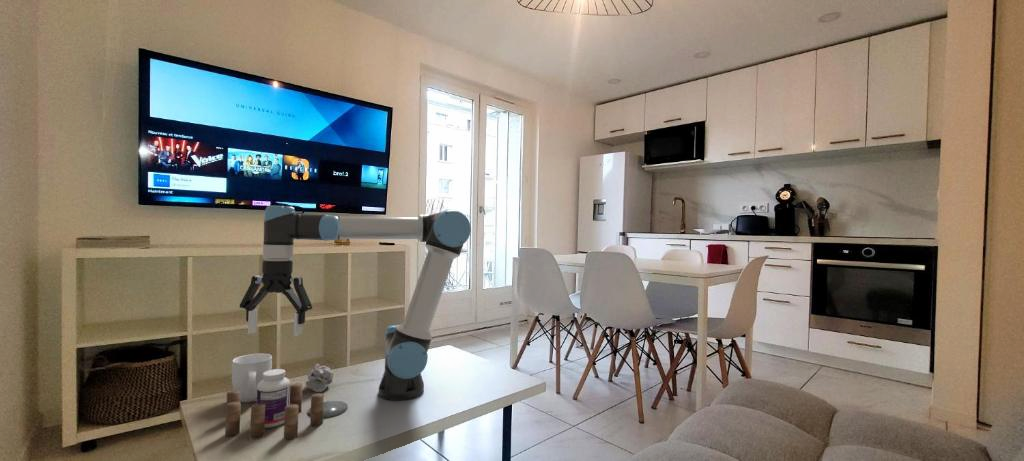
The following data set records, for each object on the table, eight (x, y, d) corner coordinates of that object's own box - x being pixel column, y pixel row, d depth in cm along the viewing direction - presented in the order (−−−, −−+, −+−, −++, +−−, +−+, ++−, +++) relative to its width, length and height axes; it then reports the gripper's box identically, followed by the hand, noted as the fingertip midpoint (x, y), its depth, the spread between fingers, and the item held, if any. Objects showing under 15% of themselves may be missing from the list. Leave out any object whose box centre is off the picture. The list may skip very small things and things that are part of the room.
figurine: (316, 366, 136) (325, 349, 148) (296, 387, 136) (307, 369, 148) (337, 380, 138) (344, 362, 150) (317, 401, 138) (326, 382, 150)
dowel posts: (336, 411, 123) (337, 385, 124) (300, 442, 105) (301, 411, 105) (250, 406, 126) (251, 380, 126) (200, 435, 107) (201, 404, 108)
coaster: (353, 403, 130) (353, 401, 130) (336, 419, 119) (336, 417, 119) (320, 401, 130) (320, 399, 130) (300, 416, 119) (300, 414, 119)
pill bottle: (265, 416, 119) (266, 367, 119) (293, 416, 120) (295, 367, 120) (249, 429, 111) (251, 376, 111) (280, 429, 112) (282, 376, 112)
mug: (272, 405, 127) (274, 363, 127) (229, 413, 121) (231, 369, 121) (269, 389, 139) (271, 351, 139) (231, 396, 133) (232, 356, 133)
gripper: (326, 260, 119) (324, 333, 119) (246, 257, 121) (243, 329, 120) (312, 262, 111) (309, 339, 111) (226, 258, 113) (223, 335, 113)
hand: (274, 334), depth 116 cm, fingers open, 13 cm apart
